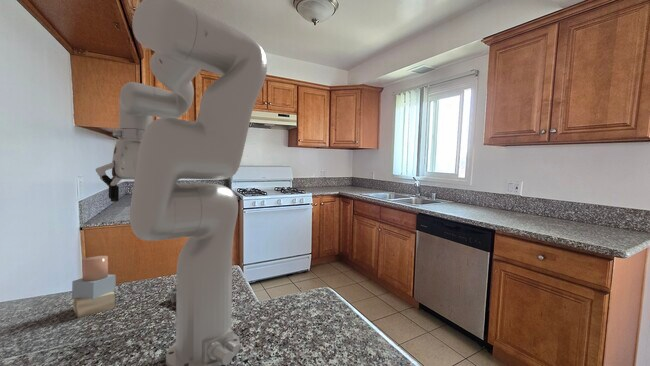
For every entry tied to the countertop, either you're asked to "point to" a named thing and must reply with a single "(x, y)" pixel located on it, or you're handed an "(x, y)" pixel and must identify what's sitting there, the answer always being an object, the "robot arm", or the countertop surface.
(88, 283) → the tower top block
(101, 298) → the tower base block
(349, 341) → the countertop surface
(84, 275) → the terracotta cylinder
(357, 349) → the countertop surface
